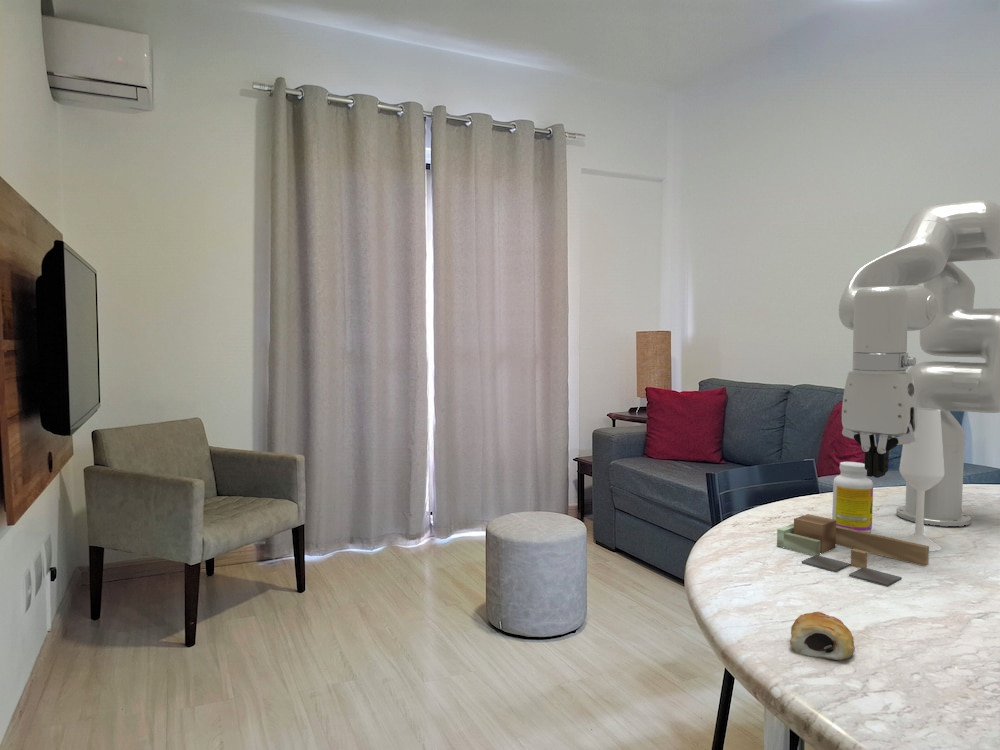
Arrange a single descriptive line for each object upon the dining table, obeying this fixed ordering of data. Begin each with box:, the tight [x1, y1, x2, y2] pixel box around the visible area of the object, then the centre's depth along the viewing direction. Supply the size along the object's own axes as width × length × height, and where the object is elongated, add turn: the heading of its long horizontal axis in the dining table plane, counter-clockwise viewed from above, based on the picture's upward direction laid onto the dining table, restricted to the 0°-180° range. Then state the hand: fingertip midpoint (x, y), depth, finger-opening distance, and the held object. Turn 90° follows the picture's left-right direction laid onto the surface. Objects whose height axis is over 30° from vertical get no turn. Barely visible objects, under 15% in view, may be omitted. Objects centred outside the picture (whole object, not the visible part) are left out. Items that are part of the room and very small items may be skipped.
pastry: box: [789, 611, 856, 661], centre depth 80 cm, size 9×7×4 cm
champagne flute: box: [898, 408, 945, 552], centre depth 117 cm, size 7×7×24 cm
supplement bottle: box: [831, 461, 874, 534], centre depth 126 cm, size 7×7×13 cm
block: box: [793, 513, 837, 555], centre depth 116 cm, size 5×5×5 cm
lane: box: [776, 523, 930, 587], centre depth 111 cm, size 15×20×3 cm
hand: (876, 475), depth 109 cm, fingers closed
